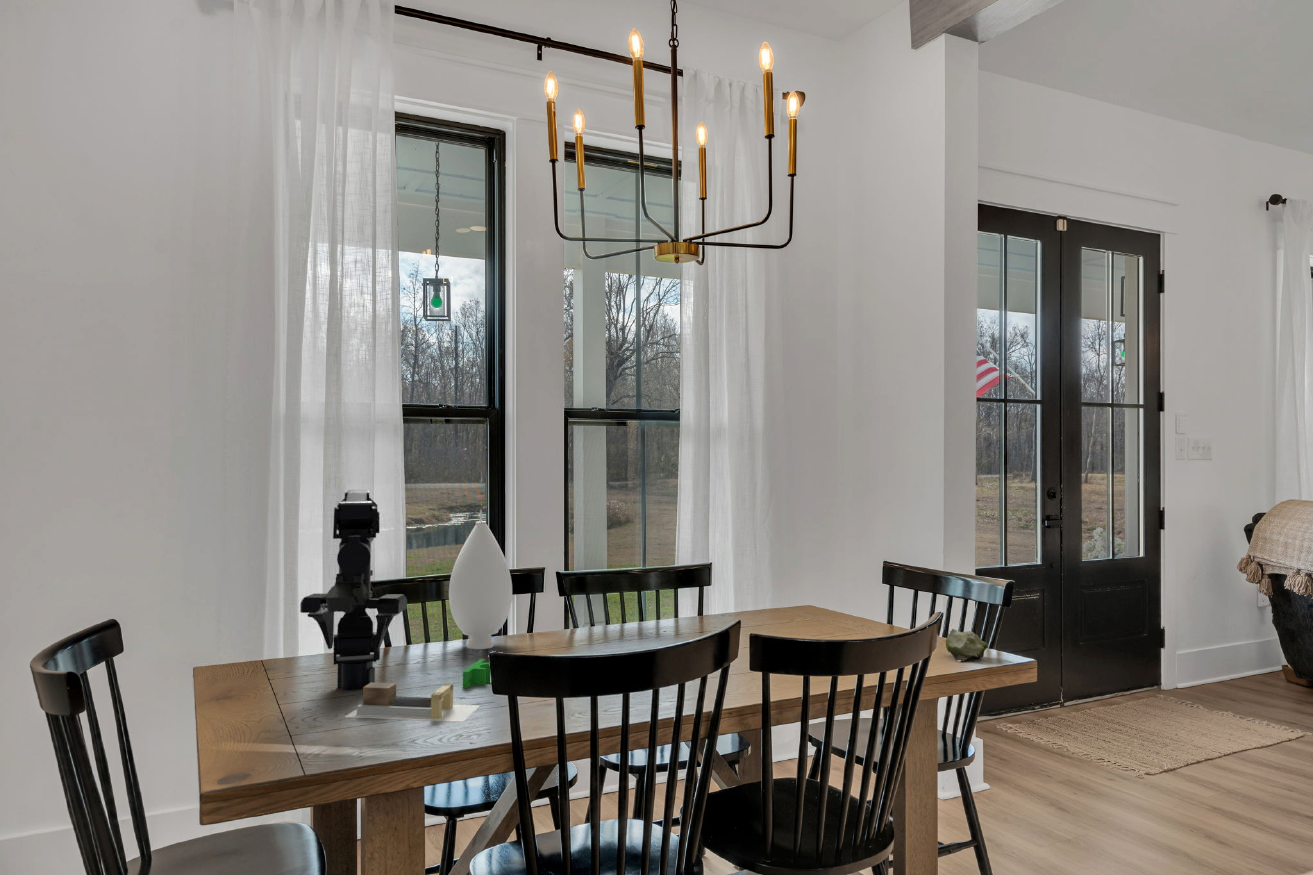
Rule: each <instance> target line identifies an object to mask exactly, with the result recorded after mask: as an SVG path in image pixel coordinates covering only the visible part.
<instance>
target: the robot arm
mask: <svg viewBox="0 0 1313 875" xmlns="http://www.w3.org/2000/svg"><path fill="white" fill-rule="evenodd" d="M332 531H333V532H332V539H333V540H338V539H340V542H339V543H338V544H339V545H338V546H339V547H338V552H337V557H336V562H337V564H338V573H336V576H335V583H334V585H333V586H331V588H330V589H329V590H328V592H327V593H311V594H309V595H306V596H304V597H303V598H302V599H301V601H300V610H299V611H300V613H303V614H307V617H308V618H312V619H313V620H314V621H316V623H317V625H318V626H319V629H320V631H321V634H322V637H323V639H324V641H325V644H326V647H327V649H328V650H331V649H333V665H334V666H335V665H337V676H336V677H337V679H336V680H337V687H336V688H337V689H341V690H344V691H345V690H346V691H357V690H363V687H364V686H366V685H368V684H369V683H371V682H372V683H376V667H374V665H373V663H376V662H377V661H380V659H381V657H380V656H381V655H380V654H381V647H382V644H383V641H384V639H385V636H386V634H387V631H388V629H389V626H390V624H391V623H392V621H393V619H394V617H395V616H397V615H399V614H401V612H403V611H405V610H407V609H408V599H407V597H406V595H405V594H403V593H402V594H401V593H399V594H397V593H395V594H393V593H391V594H388V593H386V594H383V596H381V597H378V598H372V597H373V591H372V590H371V577H372V576H373V575H374V574H373V570H372V569H371V568H372V567H371V566H372V564H371V563H372V562H371V560H372V559H371V558H372V555H371V554H372V553H371V552H372V550H371V549H372V548H371V547H372V543H373V541H374V538H375V539H376V538H377V534H380V512H379V511H378V504H377V502H375V501H374V500H373V499H372V498H371V497H370V491H369V490H367V489H348V490H347V491H344V498H343V499H342V500H341V501H338V503H337V505H336V507H334V508H333V530H332ZM366 609H376V610H377V611H378V612H379V613H378V614H376V615H375V619H376V631H374V622H373V620H372V618H371V616H369V615H368V612H367V610H366ZM335 612H338V613H339V612H340V613H344V614H343V615H342V617H340V619H339V621H338V623H337V631H336V632H337V633H336V634H335V633H334V632H335Z"/></svg>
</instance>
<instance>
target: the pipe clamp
mask: <svg viewBox="0 0 1313 875" xmlns="http://www.w3.org/2000/svg"><path fill="white" fill-rule="evenodd" d="M489 663H490V662H486V659H485V658H480V659H478V660H477V661H475V662H474V663H473V664H471V665H470V666H469V667H467V668H466V669H464V671H462V689H469V688H470V687H471V686H473V685H475V686H477V685H479V686H485V685H491V684H490V666H489Z"/></svg>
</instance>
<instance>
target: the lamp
mask: <svg viewBox="0 0 1313 875" xmlns="http://www.w3.org/2000/svg"><path fill="white" fill-rule="evenodd" d="M472 528H473V529H472V530H471V532H470V533H469V535H468V537H467V539H466V540H465V542H464V544H463V546H462V548H461V549H460V551H459V554H458V556H457V558H456V560H455V563H454V565H453V568H452V572H451V574H450V579H449V587H448V601H449V608H450V612H451V615H452V618H453V620H454V622H455V625H456V626H457V627H458V629H459V630H460V631H462V634H463V635H465V636H469V637H468V640H467V641H468V642H467V645H466V648H467V649H470V650H487V649H492V648H494V645H495V644H494V640H493V637H492V635H496V634H497V633H499V630H501V628H502V627H503V626H504V624H505V622H506V620H507V619H508V616H509V613H510V611H511V606H512V603H513V602H512V600H513V582H512V576H511V573H510V568H509V565H508V562H507V559H506V557H505V555H504V553H503V551H502V549H501V547H500V545H499V543H498V540H496V537H495V536H494V533H492V530H491V529H490V528H489V526H488V524H487V520H483V512H482V509H480V510H479V521H475V525H474V527H472Z"/></svg>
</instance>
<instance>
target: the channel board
mask: <svg viewBox="0 0 1313 875" xmlns="http://www.w3.org/2000/svg"><path fill="white" fill-rule="evenodd" d="M430 698H431V707H409V706H383V705H363V704H358V705H356V709H354V710H353V711H351V712H350V713H348V714H346V716H344V718H358V719H377V720H378V719H380V720H403V721H405V720H406V721H430V722H431V721H432V722H451V723H452V722H453V723H454V722H457V723H465V721H466V720H467V719H468V718H469V717H470V716H471V715H473V713H475V712H476V710H477V709H479V708H480V707H481V705H477V704H476V705H474V704H473V705H472V704H454V683H445V684H443V685H442V686H441V687H439V688H438V689H437V690H435V691H434V692H433V693H432V694H431V696H430Z"/></svg>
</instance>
